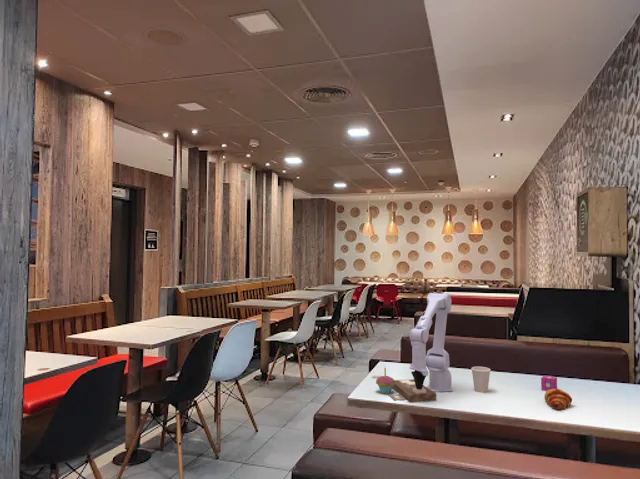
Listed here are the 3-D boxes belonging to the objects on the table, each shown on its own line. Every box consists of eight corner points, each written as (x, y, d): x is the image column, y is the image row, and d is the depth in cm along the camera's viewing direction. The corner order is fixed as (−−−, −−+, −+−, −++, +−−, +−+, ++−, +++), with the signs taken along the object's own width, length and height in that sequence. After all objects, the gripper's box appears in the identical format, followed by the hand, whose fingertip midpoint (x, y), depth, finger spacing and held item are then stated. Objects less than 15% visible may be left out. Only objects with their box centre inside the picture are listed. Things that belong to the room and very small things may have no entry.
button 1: (408, 386, 214) (408, 380, 214) (411, 389, 210) (411, 382, 210) (399, 386, 213) (399, 380, 214) (402, 389, 209) (402, 382, 209)
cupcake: (394, 395, 201) (394, 367, 201) (375, 394, 202) (375, 366, 203) (395, 390, 209) (395, 363, 210) (376, 389, 211) (376, 362, 211)
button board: (414, 385, 217) (414, 379, 217) (436, 400, 193) (436, 393, 193) (390, 386, 214) (390, 380, 215) (409, 402, 191) (409, 394, 191)
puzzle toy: (541, 390, 210) (541, 377, 211) (543, 387, 215) (543, 375, 215) (555, 392, 207) (554, 379, 207) (557, 389, 212) (556, 377, 212)
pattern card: (399, 394, 202) (399, 393, 202) (405, 400, 194) (405, 399, 194) (388, 395, 201) (388, 394, 201) (394, 400, 193) (394, 399, 193)
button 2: (421, 394, 199) (421, 387, 199) (426, 397, 194) (426, 389, 194) (412, 394, 198) (412, 387, 198) (416, 397, 193) (416, 390, 194)
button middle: (414, 388, 206) (414, 381, 207) (418, 391, 202) (418, 384, 202) (405, 388, 206) (405, 382, 206) (409, 391, 201) (409, 384, 202)
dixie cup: (480, 394, 204) (479, 371, 204) (467, 389, 211) (467, 367, 212) (494, 392, 207) (494, 369, 207) (481, 387, 214) (481, 365, 215)
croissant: (550, 405, 200) (541, 387, 202) (573, 396, 196) (563, 379, 199) (550, 418, 181) (539, 398, 184) (575, 409, 178) (564, 389, 180)
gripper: (404, 353, 203) (404, 384, 203) (416, 360, 189) (417, 394, 188) (418, 353, 205) (419, 384, 204) (432, 360, 190) (433, 393, 190)
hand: (419, 388), depth 196 cm, fingers closed, pressing on button 2
